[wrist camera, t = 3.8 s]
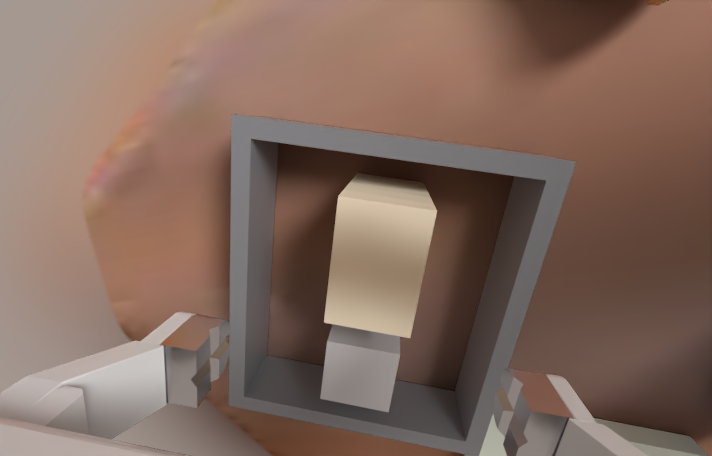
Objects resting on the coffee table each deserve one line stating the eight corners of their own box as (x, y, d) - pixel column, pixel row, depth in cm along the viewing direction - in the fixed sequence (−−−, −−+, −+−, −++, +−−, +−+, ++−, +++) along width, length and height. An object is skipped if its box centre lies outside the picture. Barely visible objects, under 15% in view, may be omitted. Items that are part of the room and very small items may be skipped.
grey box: (341, 295, 23) (327, 340, 18) (399, 306, 22) (400, 354, 18) (335, 344, 24) (320, 398, 19) (390, 354, 23) (388, 412, 19)
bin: (263, 116, 20) (231, 114, 16) (539, 154, 18) (576, 161, 15) (254, 363, 25) (228, 405, 21) (465, 404, 24) (478, 457, 20)
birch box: (357, 173, 20) (337, 196, 13) (423, 182, 20) (437, 211, 13) (345, 265, 22) (323, 326, 15) (405, 275, 22) (409, 341, 15)
